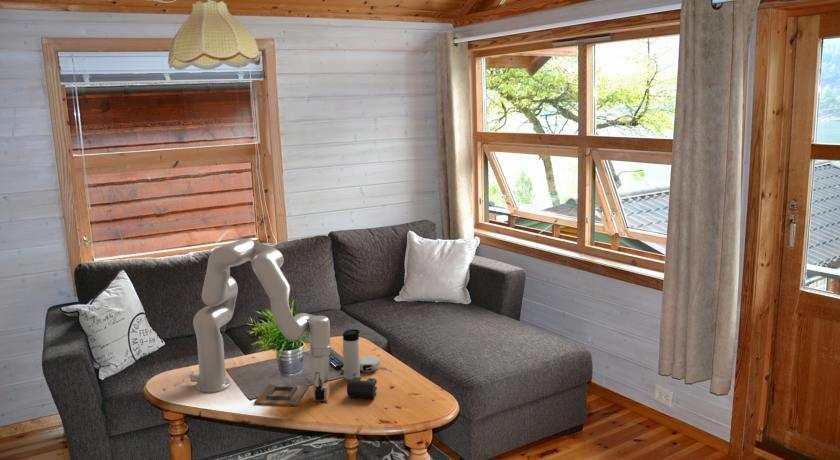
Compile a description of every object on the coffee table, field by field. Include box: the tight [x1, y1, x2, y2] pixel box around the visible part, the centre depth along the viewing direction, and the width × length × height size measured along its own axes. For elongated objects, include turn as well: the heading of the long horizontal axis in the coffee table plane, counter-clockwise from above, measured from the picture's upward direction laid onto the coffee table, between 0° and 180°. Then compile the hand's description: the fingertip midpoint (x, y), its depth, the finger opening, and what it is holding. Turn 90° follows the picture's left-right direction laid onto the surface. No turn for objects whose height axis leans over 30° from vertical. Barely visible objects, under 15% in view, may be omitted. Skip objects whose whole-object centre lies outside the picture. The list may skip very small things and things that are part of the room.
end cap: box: [346, 376, 378, 400], centre depth 255 cm, size 10×7×7 cm
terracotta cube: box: [312, 381, 331, 402], centre depth 255 cm, size 5×5×5 cm
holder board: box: [253, 383, 310, 407], centre depth 256 cm, size 16×16×2 cm
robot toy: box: [340, 354, 381, 373], centre depth 281 cm, size 12×4×15 cm
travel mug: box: [342, 329, 361, 382], centre depth 270 cm, size 6×7×20 cm
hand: (321, 395), depth 255 cm, fingers closed on terracotta cube, 4 cm apart
